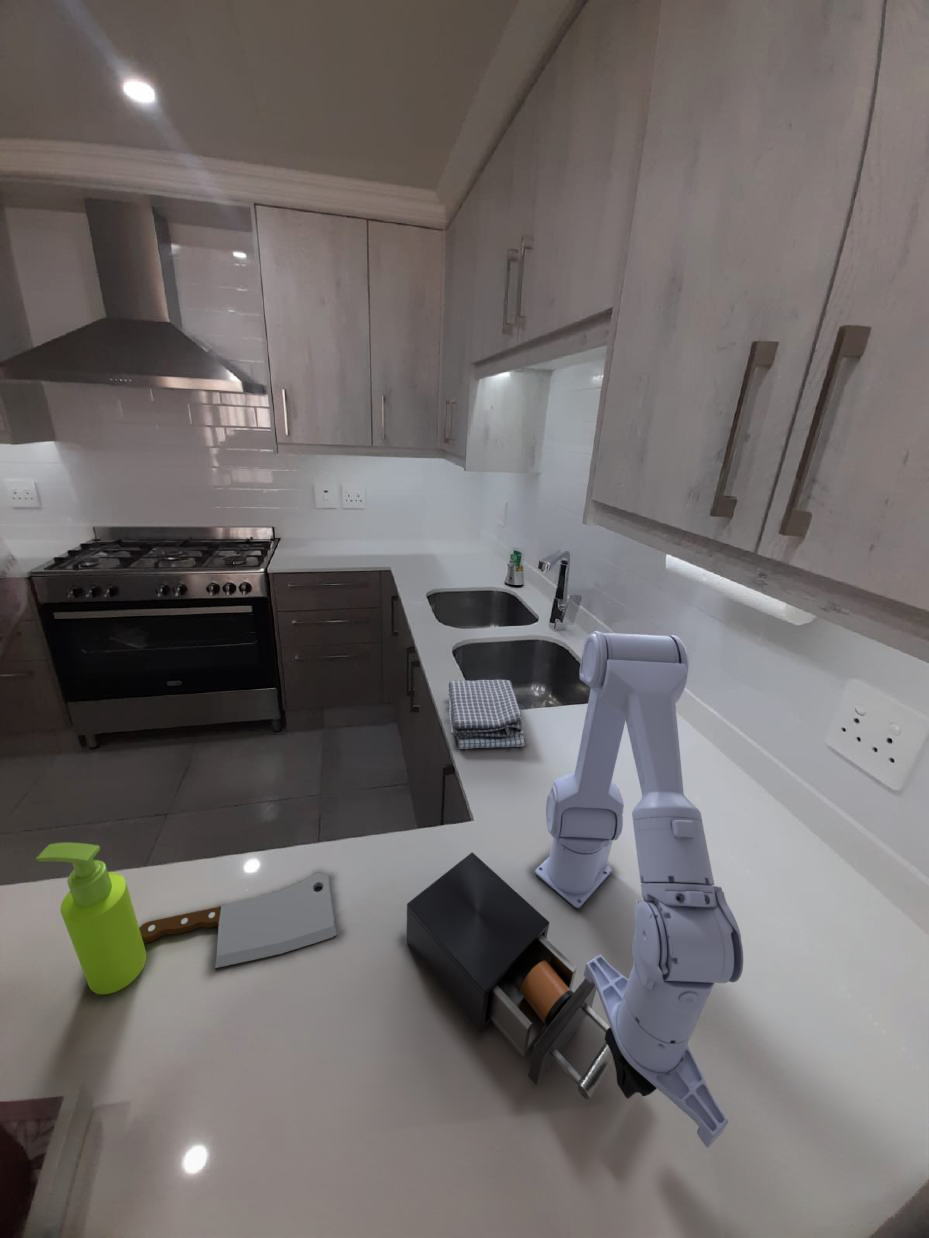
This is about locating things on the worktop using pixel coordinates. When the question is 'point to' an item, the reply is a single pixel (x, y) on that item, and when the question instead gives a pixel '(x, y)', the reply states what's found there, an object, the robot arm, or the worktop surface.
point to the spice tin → (545, 992)
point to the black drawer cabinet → (471, 932)
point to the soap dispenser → (99, 918)
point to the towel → (485, 714)
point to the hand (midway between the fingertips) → (629, 1085)
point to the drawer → (526, 1025)
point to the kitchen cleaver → (260, 922)
